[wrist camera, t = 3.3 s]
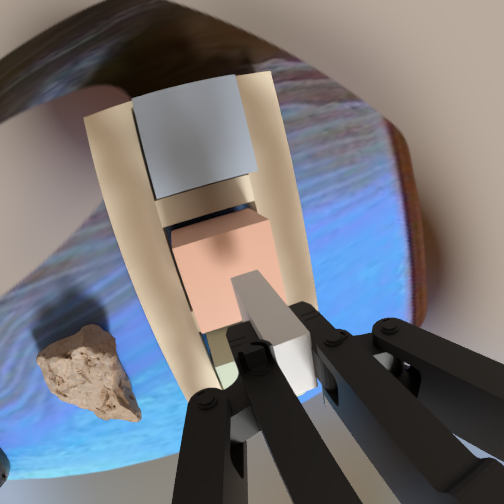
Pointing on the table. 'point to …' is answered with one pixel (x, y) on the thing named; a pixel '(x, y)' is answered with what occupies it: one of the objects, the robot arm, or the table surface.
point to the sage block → (223, 356)
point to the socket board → (191, 206)
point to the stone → (89, 374)
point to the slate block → (194, 134)
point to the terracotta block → (224, 263)
